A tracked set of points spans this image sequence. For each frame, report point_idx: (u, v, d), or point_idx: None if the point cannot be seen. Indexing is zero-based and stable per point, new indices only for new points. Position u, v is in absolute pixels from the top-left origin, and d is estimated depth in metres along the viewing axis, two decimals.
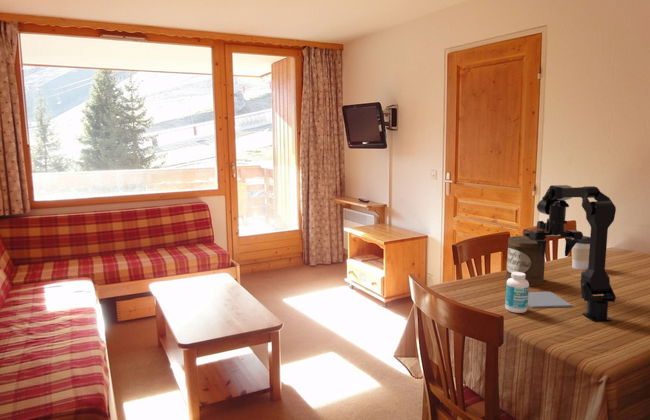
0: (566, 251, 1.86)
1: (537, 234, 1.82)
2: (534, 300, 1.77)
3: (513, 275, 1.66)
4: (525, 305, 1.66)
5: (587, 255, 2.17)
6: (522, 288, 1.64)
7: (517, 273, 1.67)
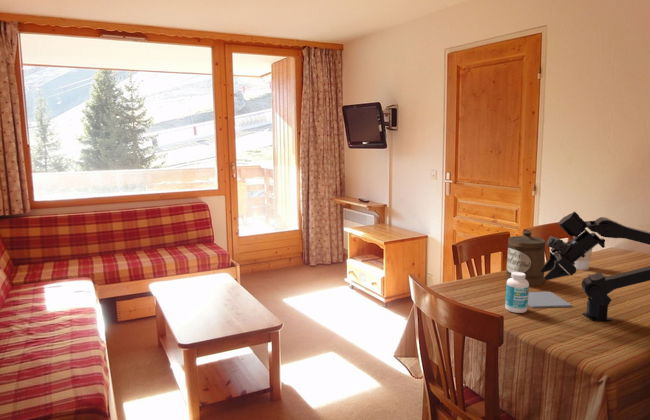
0: (546, 269, 1.69)
1: (575, 270, 1.54)
2: (534, 300, 1.77)
3: (513, 275, 1.66)
4: (525, 305, 1.66)
5: (587, 255, 2.17)
6: (522, 288, 1.64)
7: (517, 273, 1.67)
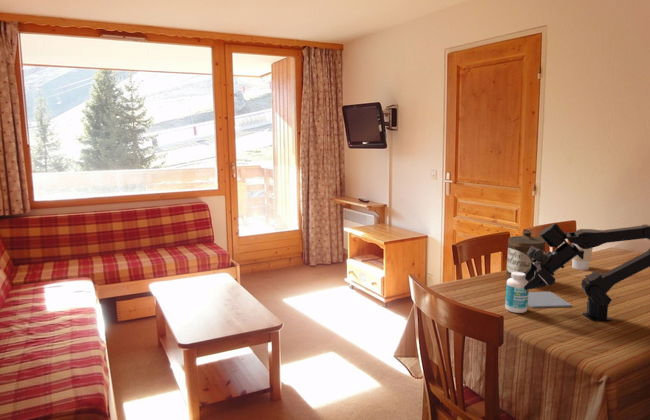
0: (527, 278, 1.71)
1: (554, 281, 1.56)
2: (534, 300, 1.77)
3: (513, 275, 1.66)
4: (525, 305, 1.66)
5: (587, 255, 2.17)
6: (522, 288, 1.64)
7: (517, 273, 1.68)
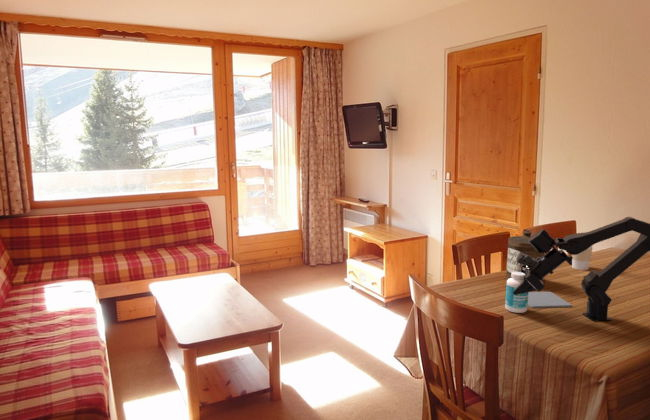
0: None
1: (543, 287, 1.57)
2: (534, 300, 1.77)
3: (513, 275, 1.66)
4: (525, 305, 1.66)
5: (587, 255, 2.17)
6: None
7: (517, 273, 1.68)
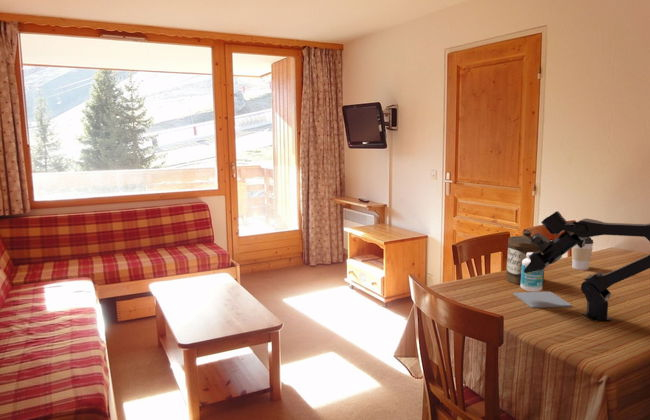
0: None
1: (545, 265, 1.63)
2: (534, 300, 1.77)
3: (527, 254, 1.74)
4: (536, 284, 1.72)
5: (587, 255, 2.17)
6: None
7: None
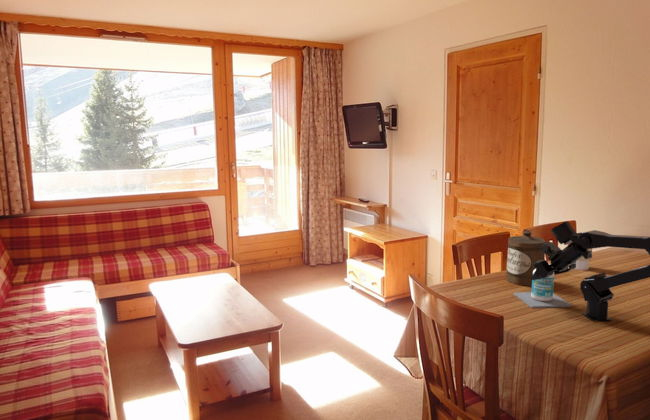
0: None
1: (547, 274, 1.66)
2: (534, 300, 1.77)
3: None
4: (545, 294, 1.75)
5: None
6: None
7: None
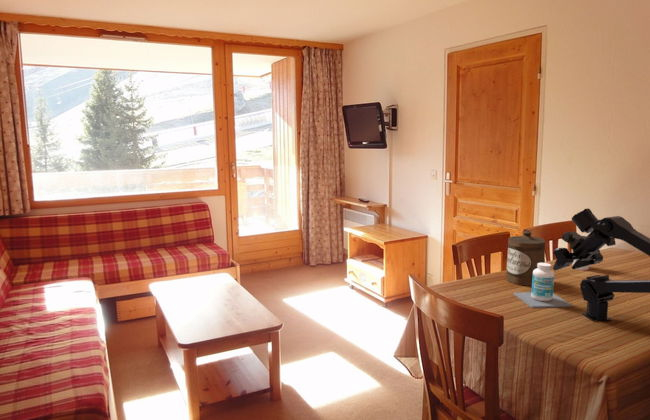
0: (576, 266, 1.72)
1: (566, 261, 1.61)
2: (534, 300, 1.77)
3: None
4: (545, 294, 1.75)
5: None
6: (541, 277, 1.74)
7: (543, 264, 1.77)
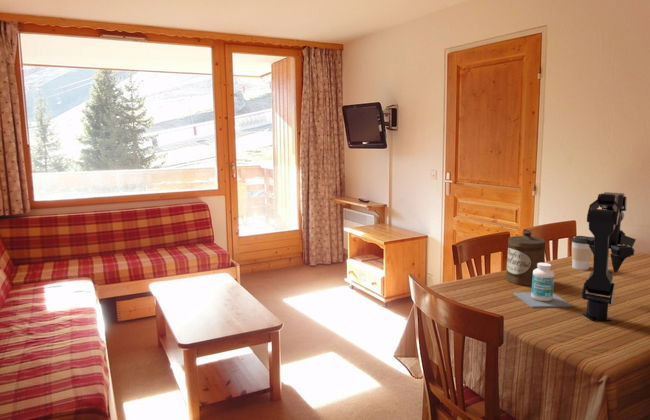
0: None
1: (588, 238, 1.81)
2: (534, 300, 1.77)
3: None
4: (545, 294, 1.75)
5: (587, 255, 2.17)
6: (541, 277, 1.74)
7: (543, 264, 1.77)
